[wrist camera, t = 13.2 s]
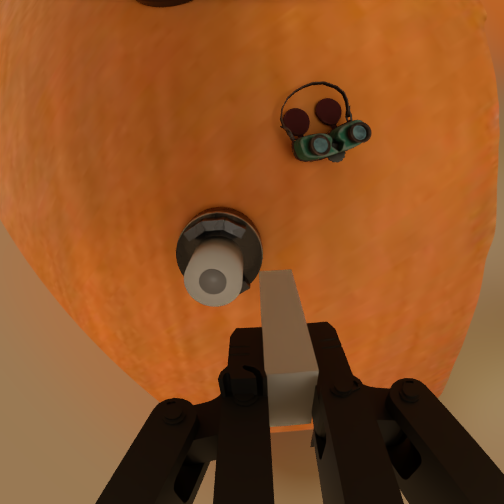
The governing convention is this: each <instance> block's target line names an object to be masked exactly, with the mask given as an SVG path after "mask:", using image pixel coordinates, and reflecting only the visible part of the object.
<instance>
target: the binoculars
mask: <svg viewBox="0 0 504 504" xmlns="http://www.w3.org/2000/svg"><path fill="white" fill-rule="evenodd" d="M322 84H323V85H326V86H329V87H331V88H334V89H336V90H337V91H338V92H340V93H341V94H342V96H343V98H344V101H345V106H346V114H345V115H346V116H345V117H346V121H347V122H346V123H344V124H342V125H340V126H338V127H337V126H336V124H337V123H338V121H339V119H340V117H341V107H340V105H339V104H338V102H337V101H335V100H333V99H330V98H325V99H322V100H321V101H319V102H318V104H317V106H316V115H317V117H318V118H319V120H320V121H322V122H323V123H324V124H326V125H330V126H331V128H332V130H331V131H329V132H328V134H323V133H319V134H313V135H308V136H303V135H304V134H305V133H306V132H307V130H308V128H309V124H310V121H309V117H308V115H307V114H306V112H304V111H303V110H301V109H298V108H294V109H290V110H289V111H287V112H286V114H285V115H284V117H283V120H282V111H283V107H284V105H285V103H286V102H287V100H288V99H289V98H290V97H291V96H292V95H293V94H294V93H296V92H297V91H299V90H301V89H303V88H305V87H308V86H311V85H322ZM285 103H284V105H283V106H282V109H281V117H280V121H281V123H282V126H280V127H281V128H283V129H284V130H286V132H287V135H288V136H289V137H290V139H291V141H292V152H293V153H294V156H295V157H296V159H298V160H300V161H304V162H307V161H310V162H312V161H317V160H322V159H324V158H328V159H329V160H330V161H332V162H339V161H342V160H343V158H344V157H345V156H344V155H345V151H347V150H349V149H351V148H354V147H356V146H357V145H359V144H361V143H363V142H366V141H368V140H369V139H370V137H371V129H370V127H369V126H368V125H367V124H366V123H364V122H362V121H361V120H354V121H352V114H351V112H350V106H349V104H348V99H347V97H346V94H345V92H344V91H343V90H341V89H340V88H339V87H338V86H336V85H333V84H330V83H327V82H312V83H309V84H307V85H304V86H302V87H300V88H298V89H297V90H295V91H294V92H293V93H292V94H291V95H289V96H288V97H287V99H286V101H285ZM348 117H350V119H351V120H349V121H348ZM293 135H294V136H298V138H297V139H295V138H294V136H293ZM291 136H292V137H291ZM292 138H293V139H292ZM294 140H295V141H294ZM316 159H317V160H316Z"/></svg>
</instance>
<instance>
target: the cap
mask: <svg viewBox="0 0 504 504" xmlns="http://www.w3.org/2000/svg"><path fill="white" fill-rule="evenodd" d="M242 280H243V253H242V251H241V249H240V247H239V246H238V245H237V244H236V243H235V242H234V241H233V240H231V239H229V238H227V237H224V236H211V237H208V238H206V239H204V240H202V241H201V242H200V243H199V244H198V245H197V247H196V249H195V251H194V253H193V255H192V257H191V259H190V261H189V264H188V266H187V268H186V270H185V274H184V284H185V287H186V289H187V291H188V293H189V294H190V295H191V297H192V298H194V299H195V300H196V301H198V302H199V303H201V304H204V305H207V306H223V305H226V304H228V303H230V302H232V301H233V300H234V299H235V298H236V297H237V296H238V295H239V293H240V291H241V288H242Z"/></svg>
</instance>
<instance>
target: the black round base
mask: <svg viewBox="0 0 504 504" xmlns="http://www.w3.org/2000/svg"><path fill="white" fill-rule="evenodd" d="M211 236H224V237H227V238H229V239H231V240H233V241H234V242H235V243H236V244H237V245H238V246H239V247H240V249H241V251H242V253H243V280H242V288H241V291H240V293H239V294H241V293H242V292H244V291H246V290H248V289H249V288H250V283H252V281H253V280H254V279H255V278H256V276H257V275H258V272H259V270H260V267H261V264H262V259H263V250H262V244H261V239H260V235H259V232H258V230H257V228H256V226H255V225H254V223H253V222H252V221H251V220H250V219H249V218H248V217H247V216H246V215H244V214H243V213H241V212H239V211H237V210H234V209H231V208H225V207H216V208H211V209H207V210H205V211H202V212H201V213H199V214H198V215H196V216H195V217H194V218H193V219H192V220H191V221H190V222H189V224H188V225H187V226H186V227H185V228H184V230H183V231H182V233H181V235H180V237H179V240H178V243H177V248H176V258H177V263H178V266H179V269H180V271H181V273H182V274H183V276H184V274H185V270H186V268H187V266H188V264H189V261H190V259H191V257H192V255H193V253H194V251H195V249H196V247H197V245H198V244H199V243H200V242H201V241H202V240H204V239H206V238H208V237H211Z"/></svg>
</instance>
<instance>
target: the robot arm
mask: <svg viewBox="0 0 504 504" xmlns="http://www.w3.org/2000/svg"><path fill="white" fill-rule="evenodd" d="M136 1H138V2H140V3H142V4H145V5H148V6H154V7H167V6H175V5H179V4H183V3H186V2H189V1H192V0H136ZM259 280H260V302H261V323H262V327H255V328H236V329H235V331H234V332H233V333H232V335H231V336H230V344H229V356H228V366H227V367H226V368H225V369H224V370H223V371H221V372H220V375H219V377H218V382H219V387H220V392H221V394H220V395H219V396H218V397H217V398H215V399H213V400H211V401H209V402H205V403H201V404H197V405H192V404H191V403H190V402H189V401H187V400H184V399H180V398H172V399H167V400H164V401H162V402H161V403H159V404H158V405H157V406H156V407H155V408H154V409H153V411H152V412H151V414H150V416H149V417H148V419H147V420H146V422H145V424H144V425H143V427H142V429H141V430H140V432H139V433H138V435H137V437H136V438H135V440H134V442H133V443H132V445H131V446H130V448H129V450H128V452H127V453H126V455H125V456H124V458H123V460H122V461H121V463H120V464H119V466H118V468H117V469H116V471H115V472H114V474H113V476H112V477H111V479H110V481H109V482H108V484H107V485H106V487H105V489H104V490H103V492H102V494H101V495H100V497H99V498H98V500H97V502H96V504H193V501H194V499H195V497H196V494H197V491H198V490H199V487H200V485H201V483H202V480H203V477H204V475H205V473H206V471H207V468H208V466H209V463H210V461H213V460H216V471H215V485H214V498H213V504H274V492H273V491H274V490H273V474H272V456H271V441H270V440H271V439H270V427H274V426H288V425H299V424H309V423H311V420H312V418H313V424H314V430H313V435H312V440H311V447H315V453H316V459H317V465H318V471H319V477H320V484H321V491H322V498H323V504H404V503H403V499H402V496H401V492H400V490H401V491H402V493H403V495H404V496H405V498H406V499H407V501H408V502H409V504H504V474H503V473H502V472H501V470H500V469H499V468H498V467H497V466H496V465H495V463H494V462H493V461H492V460H491V459H490V457H489V456H488V455H487V454H486V453H485V452H484V450H483V449H482V448H481V447H480V446H479V445H478V443H477V442H476V441H475V440H474V439H473V438H472V437H471V435H470V434H469V433H468V432H467V431H466V430H465V429H464V427H463V426H462V425H461V424H460V423H459V422H458V421H457V420H456V419H455V417H454V416H453V415H452V414H451V413H450V412H449V411H448V410H447V408H445V406H444V405H443V404H442V403H441V402H440V401H439V400H438V398H437V397H436V396H435V395H434V394H433V393H432V392H431V391H430V390H429V389H428V388H427V386H426V385H424V384H423V383H422V382H420V381H418V380H416V379H413V378H404V379H400V380H398V381H396V382H395V383H393V385H392V386H391V388H390V389H387V388H374V387H369V386H366V385H363V384H362V382H361V381H360V379H358V378H357V377H355V376H353V374H352V372H351V369H350V366H349V364H348V361H347V358H346V356H345V353H344V351H343V348H342V347H341V343H340V340H339V338H338V335H337V332H336V330H335V328H333V327H332V326H331V325H330V324H329V323H328V322H318V323H306V320H305V316H304V313H303V309H302V306H301V302H300V298H299V295H298V291H297V288H296V284H295V281H294V277H293V274H292V270H274V271H259Z"/></svg>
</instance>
